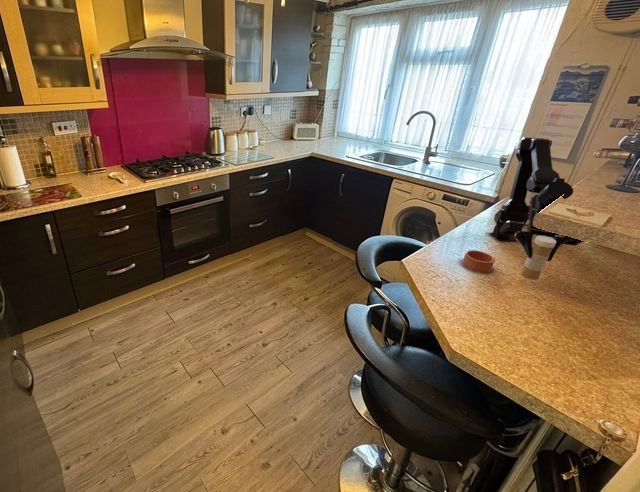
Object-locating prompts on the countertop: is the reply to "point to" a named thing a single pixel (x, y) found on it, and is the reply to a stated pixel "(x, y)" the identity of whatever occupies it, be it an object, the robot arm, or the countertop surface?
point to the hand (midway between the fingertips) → (539, 259)
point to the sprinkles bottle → (538, 257)
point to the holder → (478, 261)
